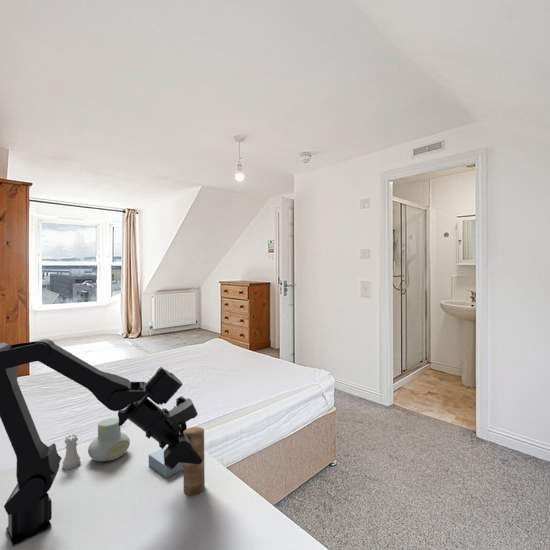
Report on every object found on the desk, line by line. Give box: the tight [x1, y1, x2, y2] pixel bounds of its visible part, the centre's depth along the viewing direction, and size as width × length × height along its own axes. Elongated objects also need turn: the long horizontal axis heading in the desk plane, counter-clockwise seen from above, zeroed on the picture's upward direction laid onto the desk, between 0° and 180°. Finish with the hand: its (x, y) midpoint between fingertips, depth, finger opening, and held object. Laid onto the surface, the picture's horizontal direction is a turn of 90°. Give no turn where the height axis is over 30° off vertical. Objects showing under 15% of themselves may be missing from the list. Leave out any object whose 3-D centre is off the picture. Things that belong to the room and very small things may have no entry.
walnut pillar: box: [182, 426, 206, 497], centre depth 81 cm, size 5×5×14 cm
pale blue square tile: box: [148, 445, 183, 479], centre depth 92 cm, size 9×9×3 cm
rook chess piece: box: [61, 434, 82, 471], centre depth 92 cm, size 4×4×8 cm
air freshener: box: [87, 417, 131, 462], centre depth 97 cm, size 11×8×10 cm
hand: (199, 456), depth 82 cm, fingers closed on walnut pillar, 5 cm apart
